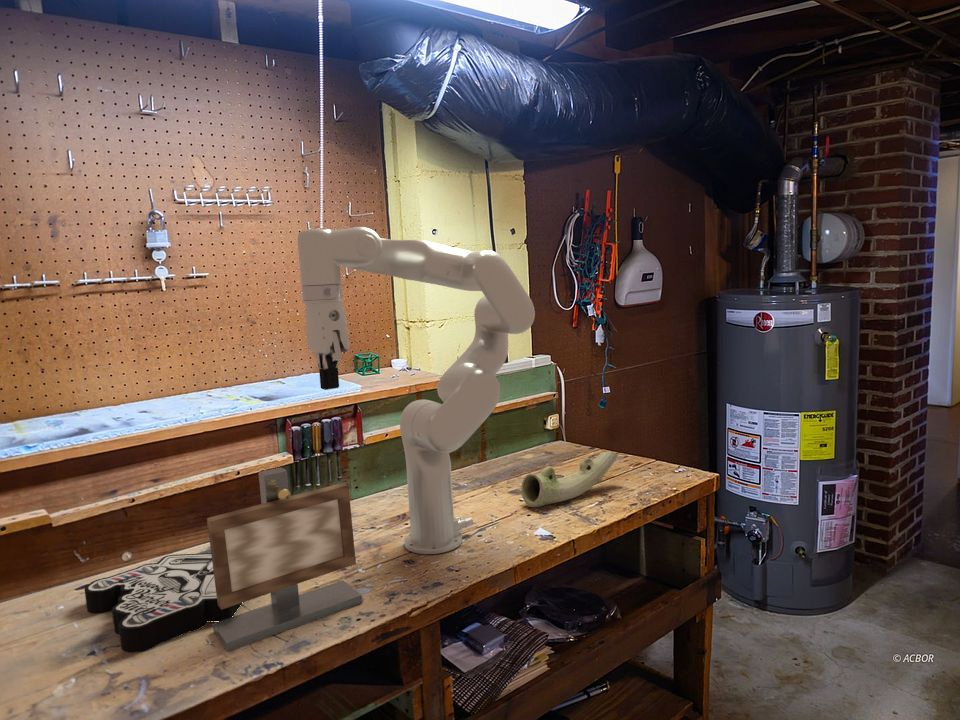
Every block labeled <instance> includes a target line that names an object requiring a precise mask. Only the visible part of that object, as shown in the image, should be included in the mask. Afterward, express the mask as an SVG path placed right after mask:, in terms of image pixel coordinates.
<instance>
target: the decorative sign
mask: <svg viewBox="0 0 960 720" xmlns="http://www.w3.org/2000/svg"><path fill="white" fill-rule="evenodd" d="M84 598H85V604H86V611H87V612H88V613H89V614H106V613H109V612H111V613H112V621H113V630H114V634H116V635H119V641H120V649H121V651H122V652H124V653H128V654H129V653H130V654H131V653H132V654H133V653H143V652H146V651H148V650H151V649H153V648H154V647H156V646H158V645H160V644H163V643H165V642H167V640H168V641H170V640H172V638H173V639H175V638H177V636H178V637H180V636H182V635H181V634H183V635H185V634H187V632H188V633H190V632H189V631H191V632H195V631H197V629H198V630H200V629H202V628H203V627H202V626H204V625H205V626H206V625H207V624H208V623H207V621H210V622H209V623H212V622H211V621H222V620H225V619H228V618H231V617H232V616H233V615H234V613H235V612H236V611H237V609H238V608H239V607H240V608H241V606H242V605H243V604H242V603H239V604H236V605H233V606H231V607H228V608H225V609H222V610H221V609H220V607H219V606H218V603H217V595H216V587H215V579H214V571H213V563H212V555H211V552H207V553H206V552H203V553H185V554H184V553H183V554H182V553H181V554H169V555H168V554H167V555H165V556H163V557H162V558H160V559H159V561H157V562H152V563H151V562H150V563H146V564H143V565H139V566H137V567H136V568H135V567H134V568H133V569H129V570H126V571H123V572H119V573H116V574H113V575H109V576H107V577H102V578H99V579H95V580H93V581H91V582H90V583H88V584H87V585H85V587H84ZM241 604H242V605H241ZM240 605H241V606H240ZM240 608H239V609H240ZM239 609H238V610H239ZM237 612H238V611H237ZM237 612H236V613H237ZM236 613H235V614H236ZM234 616H235V615H234ZM234 616H233V617H234ZM206 623H207V624H206ZM205 626H204V627H205ZM201 627H202V628H201ZM199 628H200V629H199ZM194 630H195V631H194ZM184 633H185V634H184ZM179 635H180V636H179ZM162 642H163V643H162Z"/></svg>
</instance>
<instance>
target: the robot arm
mask: <svg viewBox="0 0 960 720" xmlns="http://www.w3.org/2000/svg"><path fill="white" fill-rule="evenodd" d="M296 239H297V240H296V241H297V242H296V243H297V251H298V263H299V273H300V284H301V287H300V288H301V297H302V304H305V331H306V343H307V348H308V350H310V352H313V356H314V357H315V358H316V360H317V367H318V373H319V384H320V388H321V389H322V390H324V391H326V390H334V389H339V387H340V379H339V361H341V360H342V359H343V357H342V353H347V352H348V351H349V350H350V342H349V341H350V339H349V333H348V332H349V331H348V325H347V317H346V312H345V308H344V304H343V289H342V288H343V287H342V276H341V275H342V274H341V267H343V268H346V269H351V270H358V271H362V272H366V273H367V272H368V273H373V274H378V275H384V276H389V277H395V278H398V279H402V280H409V281H414V282H420V283H426V284H431V285H436V286H437V285H438V286H442V287H447V288H451V289H454V290H455V289H456V290H461V291H468V292H481V293H482V294H483V295H484V296H483V297H481V298H480V299H479V300H478V301H477V303H476V304H475V308H474V313H473V314H474V315H473V316H474V324H475V333H474V338H473V339H472V341H471V343H470V344H469V346H468V347H467V348H466V349H465V351H464V352H463V353H462V354H461V355H460V356H459V357H458V358H457V359H456V360H455V362H454V363H452V365H451V366H449V368H448V369H447V370H446V371H444V373H443V374H442V375H441V377H440V378H439V380H438V381H437V386H436V391H437V394H438V397H439V399H441V401H442V403H440V402H436V401H434V400H429V399H417V400H413V401H411V402H410V403H409V404H407V406H405V408H404V409H403V411H402V413H401V415H400V421H399V431H400V436H401V440H402V444H403V445H402V446H403V450H404V455H405V456H404V457H405V463H406V464H405V465H406V468H405V469H406V479H407V480H406V482H407V497H408V511H409V513H408V514H409V524H410V525H409V526H410V527H409V528H410V533H409V534H407V535H406V536H405V537H404V541H403V542H404V544H403V545H404V547H405V549H406V550H408V551H410V552H411V553H414V554H418V555H419V554H420V555H436V554H437V555H438V554H443V553H447V552H450V551H452V550H455V549H457V548H458V547H459V546H460V545H461V544H462V543H463V534H462V532H460V531H462V529H463V528H467V527H470V526H473V524H474V519H473V518H472V517H471V516H467V517H465V518H464V517H463V519H462V517H461V516H456V517H455V513H454V501H453V500H454V499H453V483H452V481H453V480H452V463H451V456H450V454H451V453H452V452H455V451H457V450H458V449H460V448H461V447H462V446H463V445H464V444H465V443H466V442H467V441H468V440H469V439H470V437H472V435H473V434H475V432H476V431H477V430H478V428H480V427H481V425H483V423H484V422H485V421H486V419H488V418H489V416H490V415H491V414H492V412H493V411H494V410H495V409H496V407H497V404H498V402H499V401H500V396H501V385H500V382H499V380H498V378H497V377H496V375H497V373H498V372H499V370H500V369H501V368H502V367H503V366H504V365H505V362H506V360H507V357H508V353H509V334H511V335H513V334H514V335H518V334H523V333H524V332H526V331H528V330H529V329H530V328H531V327H532V325H533V324H534V321H535V316H536V312H535V306H534V303H533V301H532V299H531V297H530V296H529V294H528V293H527V291H526V289H525V288H524V286H523V284H522V283H521V282H520V280H519V279H518V276H516V274H515V273H514V271H513V270H512V268H511V266H510V265H509V264H508V263H507V262H506V260H505V259H504V258H503V257H502V255H500V254H499V253H498V252H496V251H494V250H489V249H488V250H487V249H486V250H475V251H474V250H468V249H464V248H459V247H453V246H450V245H447V244H446V245H445V244H441V243H437V242H433V241H429V240H424V239H391V238H381V237H380V236H379V234H378V233H377V232H376V231H375V230H373V229H371V228H368V227H366V226H354V227H350V228H342V229H331V228H330V229H329V228H312V229H304V230H301V231H300V232H299V233H298V235H297V237H296Z"/></svg>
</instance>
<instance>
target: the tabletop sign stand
mask: <svg viewBox="0 0 960 720" xmlns="http://www.w3.org/2000/svg"><path fill="white" fill-rule="evenodd" d="M258 481H259V490H260V491H259V492H260V504H263V503H267V502H271V501H275V500H279V499H280V500H281V501H286V500H288V499H289V498H290V496H291V492H290V489H289V487H290V486H289V477H288V470H286V469H285V468H283V467H277V468H271V469H267V470H263V471H258ZM269 594H270V600H271V601H270V602H271V603H270V604H267V605H265V606H261V607H258V608H254V609H252V610H248V611H247V612H243V613H240V614H238V615H234V616H233V617H231V618H228V619H225V620H222V621H219V622H212V628H213V629H212V630H213V633H214V634H215V636H216V637H217V639H218V640H219V641H220V643H221V644H223V645H222V646H223V648H224V649H225V650H226V652H230V650H231V651H234V650H236V649H239V648H241V647H245V646H248V645H249V644H252V643H255V642H258V641H260V640H264V639H266V638H269V637H272V636H274V635H275V636H276V635H278V634H280V633H283V632H286V631H288V629H289V630H292V629H294V628H297V627H300V626H302V625H305V624H308V623H310V622H313V621H316V620H319V619H321V618H322V619H323V618H325V617H328V616H330V615H333V614H336V613H338V612H341V611H344V610H347V609H349V608H352V607H355V606H358V605H361V604H363V595H362V594H361V593H360V592H359V591H358V590H356V589H355V587H352V586H351V585H350V584H349V583H348V582H346V581H345V580H344V579H342V580H339V581H337V582H336V581H335V582H333V583H330V584H327V585H324V586H322V587H319V588H315V589H312V590H309V591H306V592H303V593H300V594H299V585H298V584H296V585H293V586H290V587H287V588H284V589H281V590H278V591H275V592H272V593H269Z"/></svg>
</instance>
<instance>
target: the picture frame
mask: <svg viewBox="0 0 960 720" xmlns="http://www.w3.org/2000/svg"><path fill="white" fill-rule="evenodd" d="M349 486H350V485H349V484H347V483H346V482H341V483H337V484H334V485H330V486H325V487H322V488H318V489H314V490H310V491H307V492H302V493H298V494H294V495H290V498H289V499H288V500H286V501H281V500H280V499H279V500H275V501H271V502H267V503H263V504H261V503H260V504H256V505H252V506H248V507H246V508H241V509H236V510H233V511H230V512H225V513H221V514H217V515H214V516H210V517H207V518H206V524H207V531H208V539H209V546H210V553H211V555H212V563H213V571H214V579H215V587H216V595H217V603H218V606H219V607H220V609H221V610H222V609H225V608H228V607H231V606H233V605H236V604H239V603H242V602H243V603H245V602H248V601H251V600H253V599H254V600H255V599H257V598H259V597H262V596H266V595H268V594H270V593H272V592H275V591H278V590H281V589H284V588H287V587H290V586H293V585H296V584H302V583H304V582H306V581H310V580H314V579H316V578H319V577H323V576H325V575H327V574H331V573H334V572H337V571H340V570H343V569H345V568H349V567H352V566H355V565H356V564H357V562H356V560H357V559H356V552H355V551H356V549H355V540H354V530H353V529H354V528H353V518H352V509H351V499H350V487H349Z"/></svg>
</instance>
